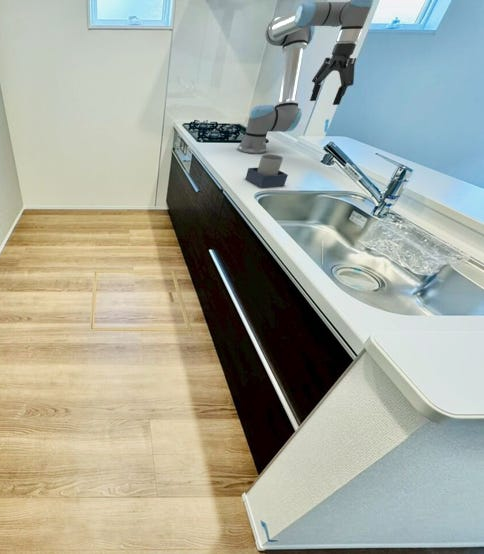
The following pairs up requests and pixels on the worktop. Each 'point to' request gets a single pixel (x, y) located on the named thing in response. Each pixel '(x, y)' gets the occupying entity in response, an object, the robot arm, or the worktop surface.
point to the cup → (269, 165)
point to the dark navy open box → (266, 178)
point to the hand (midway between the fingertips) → (323, 102)
